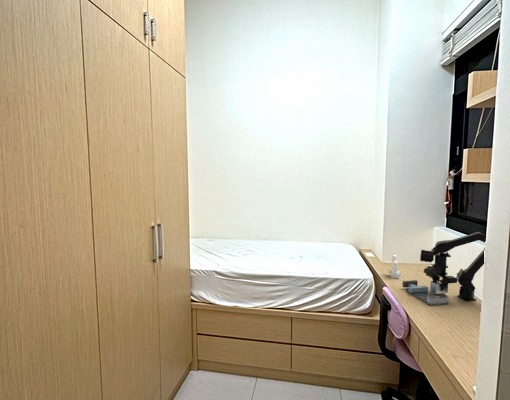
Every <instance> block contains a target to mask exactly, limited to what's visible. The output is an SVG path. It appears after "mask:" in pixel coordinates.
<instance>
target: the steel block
mask: <svg viewBox="0 0 510 400" xmlns="http://www.w3.org/2000/svg"><path fill="white" fill-rule="evenodd" d="M429 288H430V289H429V292H430V293H432V294H434V295H439V294H441V295H442V294H448V293H449V284H448V285H447V286H446V287H445V289H444V290H443V291H441V282H440V281H433V280H430V287H429Z"/></svg>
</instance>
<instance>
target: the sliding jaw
mask: <svg viewBox="0 0 510 400" xmlns="http://www.w3.org/2000/svg"><path fill="white" fill-rule="evenodd" d="M418 284H419V283H418V280H416V279H413V280H403V281H402V288H407V289H408V291H409V292H411V293H413V292H426V291H428V292H429V287H428V286H427V285H418Z"/></svg>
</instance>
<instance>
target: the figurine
mask: <svg viewBox="0 0 510 400" xmlns="http://www.w3.org/2000/svg"><path fill="white" fill-rule="evenodd" d="M391 255H392V256H391V261H392V269H387V271H388V273H389V276H390V278H392V279H400V276H401V275H402V273H401V271H400V270H399V269H398V268H399V267H398V265H399V263H398V260H399V259H398V255H396V254H391Z"/></svg>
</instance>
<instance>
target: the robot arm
mask: <svg viewBox="0 0 510 400" xmlns="http://www.w3.org/2000/svg"><path fill="white" fill-rule="evenodd" d="M486 235H487V234H484V233H481V232H480V231H475V232H473V233H470V234H467V235H464V236H460V237H457V238H456V237H455V238H453V239H448V240H447V239H446V240H439V241H437V242H436V243H435V245H434V247H432V249H431V250H425V249H421V250H420V255H419V260H420V261H419V262H426V263H432V262H434V263H433V264H432V265H431V267H425V268H424V269H423V273H424V274H425V276H427V277H429V278H431V281H440V282H441V291H443V290H444V289H445V287H446V286H447V285H448V286H449V285H450V284H457V283H458V284H459V285H460V287H459V291H458V294H457V295H456V296H457V297H458V298H459V299H461V300H463V301H466V302H472V301H473V302H474V301H477V298H475V290H476V287H475V285H474V283H473V282H472V281H473V280H474V278H475V275H476V273H477V272H478V271H479V270H480V269H481V268H482V267H483V266H484V265H485V263H484V250H485V247H484V248H483V250H482V251H481V252H480V253H479V254H478V256H476V258H475V259H474V260H473V261H472V262H471V263H470V265H469V266H468V267H467V268H465V269H463V268H460V270H459V271H458V272H457V273H456V277H455V276H453V275H448V272H447V269H448V268H449V266H448V265H447V258H451V257H452V256H451V254H450V253H449V252H450V251H451V250H452V249H453V250H454V248H456V247H457V248H458V247H461V246H464V245H468V244H470V243H474V242H477V241H478V242H479V241H480V242H482V243H485V238H486ZM485 244H486V243H485Z"/></svg>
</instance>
